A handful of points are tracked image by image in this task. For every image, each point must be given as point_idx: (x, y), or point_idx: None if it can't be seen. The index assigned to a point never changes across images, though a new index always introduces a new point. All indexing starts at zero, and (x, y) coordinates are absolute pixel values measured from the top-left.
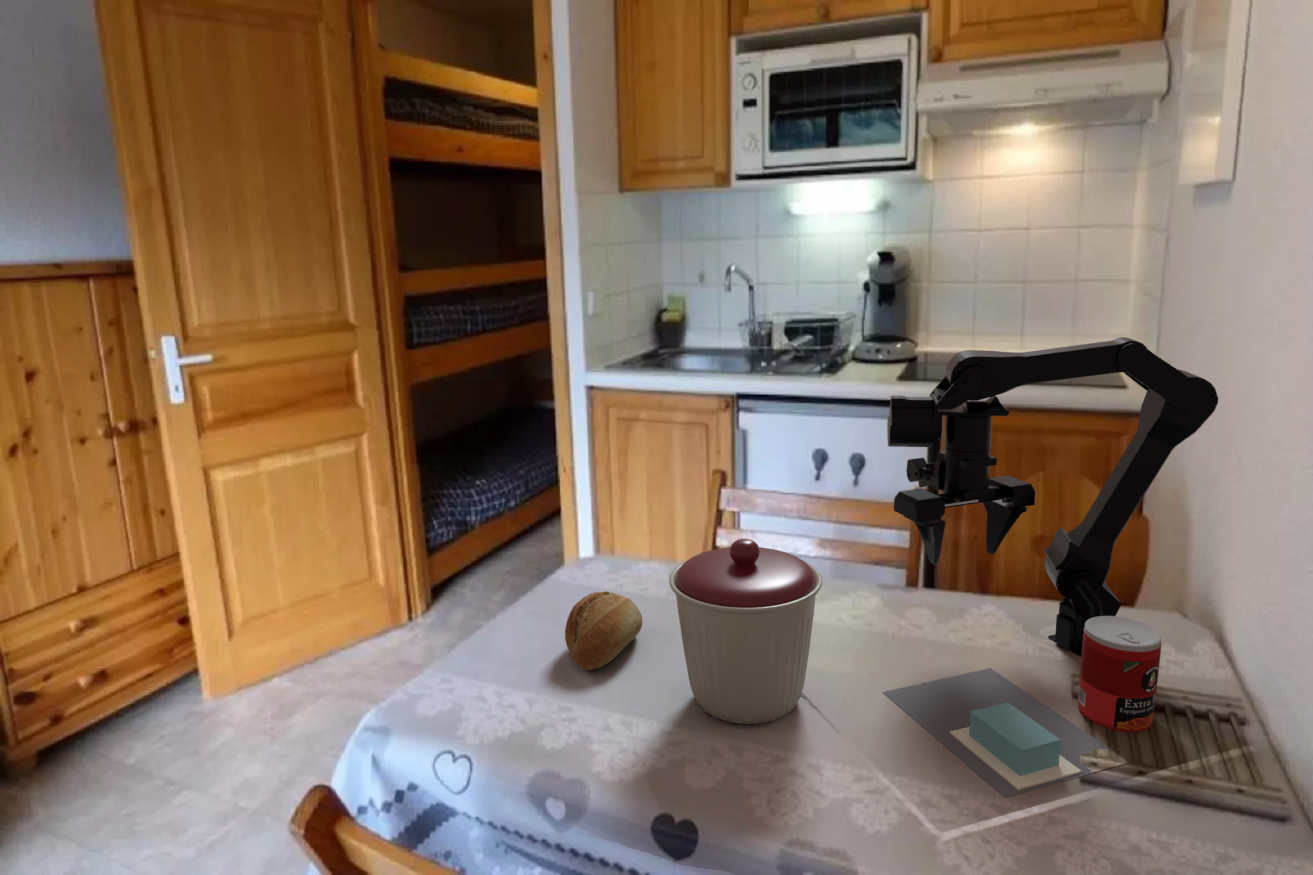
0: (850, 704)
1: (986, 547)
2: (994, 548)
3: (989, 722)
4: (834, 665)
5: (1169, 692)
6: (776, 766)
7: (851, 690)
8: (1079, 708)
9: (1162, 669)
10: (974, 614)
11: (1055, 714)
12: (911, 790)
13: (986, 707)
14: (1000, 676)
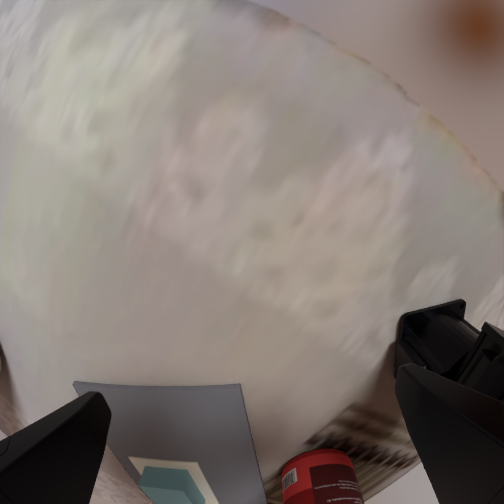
0: (45, 378)
1: (408, 375)
2: (405, 422)
3: (150, 496)
4: (29, 294)
5: (407, 435)
6: (9, 412)
7: (45, 356)
8: (284, 469)
9: None
10: (351, 170)
11: (254, 467)
12: None
13: (156, 488)
14: (240, 408)
